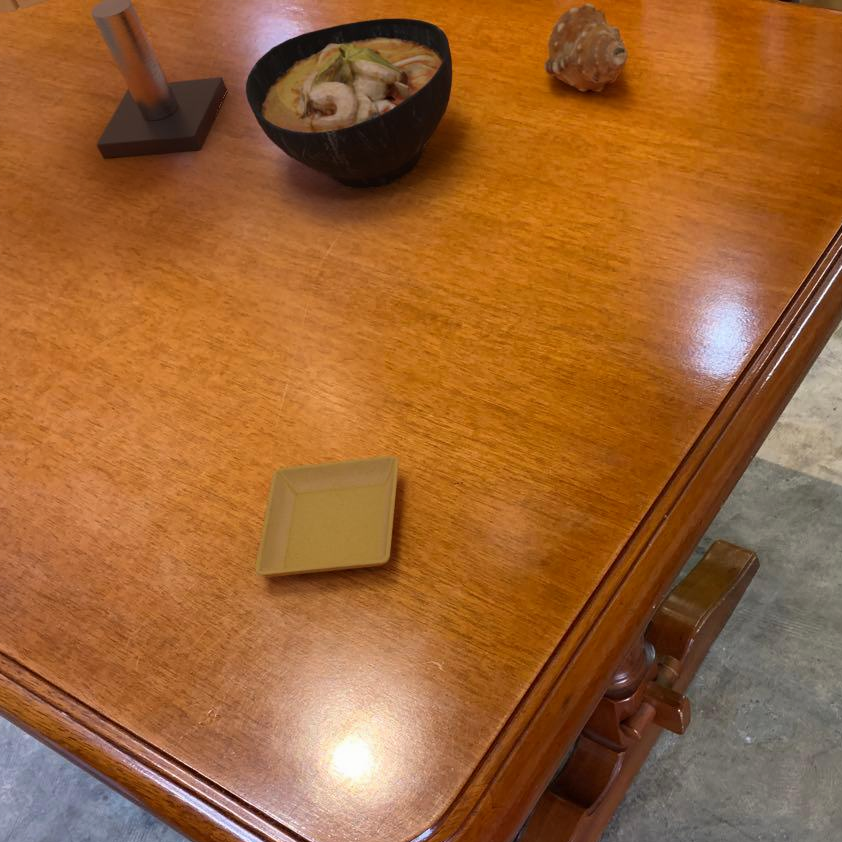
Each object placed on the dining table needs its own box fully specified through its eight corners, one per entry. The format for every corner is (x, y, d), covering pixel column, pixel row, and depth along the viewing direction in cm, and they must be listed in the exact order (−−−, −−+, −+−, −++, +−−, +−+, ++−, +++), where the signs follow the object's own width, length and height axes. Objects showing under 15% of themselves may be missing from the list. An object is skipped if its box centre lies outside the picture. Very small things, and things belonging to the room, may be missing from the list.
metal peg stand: (103, 158, 99) (39, 42, 89) (136, 99, 104) (78, -16, 95) (200, 150, 97) (145, 30, 88) (228, 90, 103) (178, -28, 93)
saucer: (264, 593, 65) (252, 574, 63) (283, 486, 70) (273, 466, 68) (397, 581, 64) (388, 562, 62) (407, 474, 69) (399, 453, 67)
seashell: (650, 92, 97) (667, 23, 87) (586, 144, 96) (596, 80, 86) (584, 23, 98) (594, -52, 88) (520, 74, 97) (523, 3, 87)
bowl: (318, 107, 98) (281, 2, 90) (490, 103, 94) (468, -7, 86) (255, 221, 89) (208, 115, 81) (443, 222, 85) (413, 111, 77)
